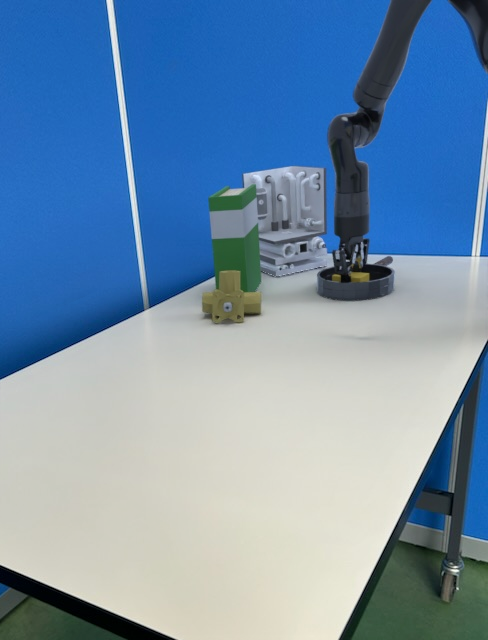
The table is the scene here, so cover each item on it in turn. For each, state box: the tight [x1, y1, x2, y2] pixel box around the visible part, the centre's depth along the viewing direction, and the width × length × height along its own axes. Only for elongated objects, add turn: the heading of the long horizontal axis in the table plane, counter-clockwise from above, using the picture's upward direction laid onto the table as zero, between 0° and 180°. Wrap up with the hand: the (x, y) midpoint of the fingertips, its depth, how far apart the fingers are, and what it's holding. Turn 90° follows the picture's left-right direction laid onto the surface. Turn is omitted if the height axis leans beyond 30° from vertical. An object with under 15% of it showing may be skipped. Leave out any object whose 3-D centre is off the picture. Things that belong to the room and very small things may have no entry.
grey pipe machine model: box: [241, 165, 328, 278], centre depth 164 cm, size 16×19×25 cm
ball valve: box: [201, 270, 262, 324], centre depth 134 cm, size 13×10×10 cm
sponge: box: [332, 272, 369, 282], centre depth 143 cm, size 7×4×4 cm, turn 50°
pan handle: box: [373, 255, 394, 267], centre depth 153 cm, size 2×11×2 cm, turn 140°
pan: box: [316, 263, 396, 302], centre depth 144 cm, size 17×17×4 cm
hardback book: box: [207, 184, 262, 293], centre depth 148 cm, size 18×7×24 cm, turn 164°
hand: (351, 288), depth 143 cm, fingers closed on sponge, 4 cm apart
